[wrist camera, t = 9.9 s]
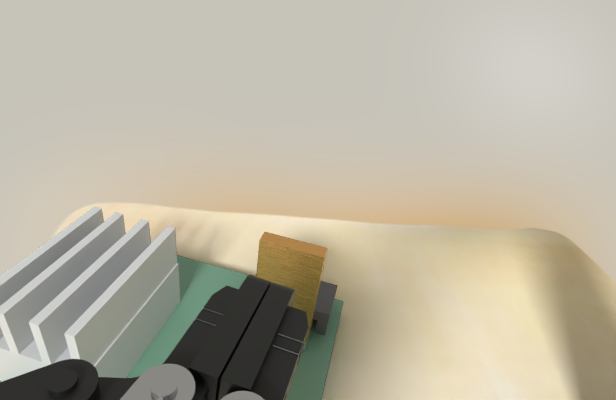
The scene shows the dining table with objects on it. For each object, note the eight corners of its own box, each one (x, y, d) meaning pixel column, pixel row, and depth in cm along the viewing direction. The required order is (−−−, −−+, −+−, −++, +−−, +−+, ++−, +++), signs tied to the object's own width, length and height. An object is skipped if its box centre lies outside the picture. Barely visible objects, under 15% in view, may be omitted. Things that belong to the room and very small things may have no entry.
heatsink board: (271, 618, 23) (293, 546, 17) (-76, 481, 26) (-157, 382, 20) (339, 314, 43) (360, 234, 37) (139, 257, 46) (130, 175, 40)
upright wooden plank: (305, 349, 36) (324, 257, 30) (250, 333, 37) (259, 240, 31) (319, 302, 41) (337, 216, 35) (271, 289, 42) (281, 202, 36)
